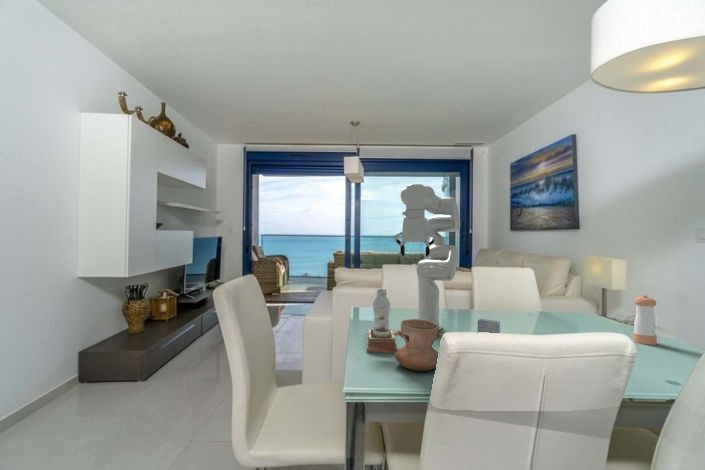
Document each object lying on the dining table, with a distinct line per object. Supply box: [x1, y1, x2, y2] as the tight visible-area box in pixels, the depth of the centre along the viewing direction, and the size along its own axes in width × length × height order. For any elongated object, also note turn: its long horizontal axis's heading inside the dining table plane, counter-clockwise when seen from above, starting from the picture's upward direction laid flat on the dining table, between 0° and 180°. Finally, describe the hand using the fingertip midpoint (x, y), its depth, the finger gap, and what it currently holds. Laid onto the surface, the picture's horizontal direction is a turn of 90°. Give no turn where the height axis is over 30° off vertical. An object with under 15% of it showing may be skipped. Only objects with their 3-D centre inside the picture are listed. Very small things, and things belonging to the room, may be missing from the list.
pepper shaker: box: [632, 294, 658, 346], centre depth 139 cm, size 7×7×19 cm
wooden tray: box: [365, 329, 399, 354], centre depth 134 cm, size 24×11×4 cm, turn 178°
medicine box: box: [477, 318, 501, 334], centre depth 138 cm, size 8×4×9 cm, turn 58°
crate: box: [368, 328, 396, 344], centre depth 129 cm, size 13×9×4 cm
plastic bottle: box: [372, 288, 391, 338], centre depth 129 cm, size 6×7×20 cm
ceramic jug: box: [392, 318, 444, 372], centre depth 111 cm, size 18×14×14 cm
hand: (414, 256), depth 140 cm, fingers open, 9 cm apart
